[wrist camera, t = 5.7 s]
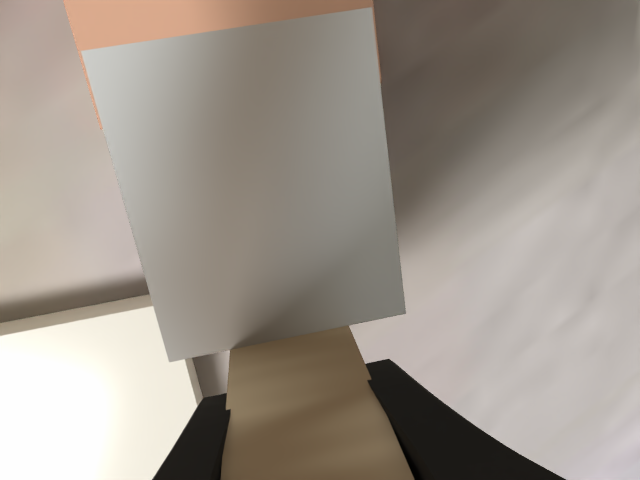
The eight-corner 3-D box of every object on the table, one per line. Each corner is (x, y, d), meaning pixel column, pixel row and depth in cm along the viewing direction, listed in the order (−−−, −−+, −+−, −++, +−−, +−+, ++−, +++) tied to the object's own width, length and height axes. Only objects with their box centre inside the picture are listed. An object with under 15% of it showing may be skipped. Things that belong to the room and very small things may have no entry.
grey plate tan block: (364, 12, 9) (550, -119, 4) (408, 396, 12) (559, 681, 6) (91, 53, 9) (-200, -19, 3) (199, 442, 11) (150, 795, 6)
